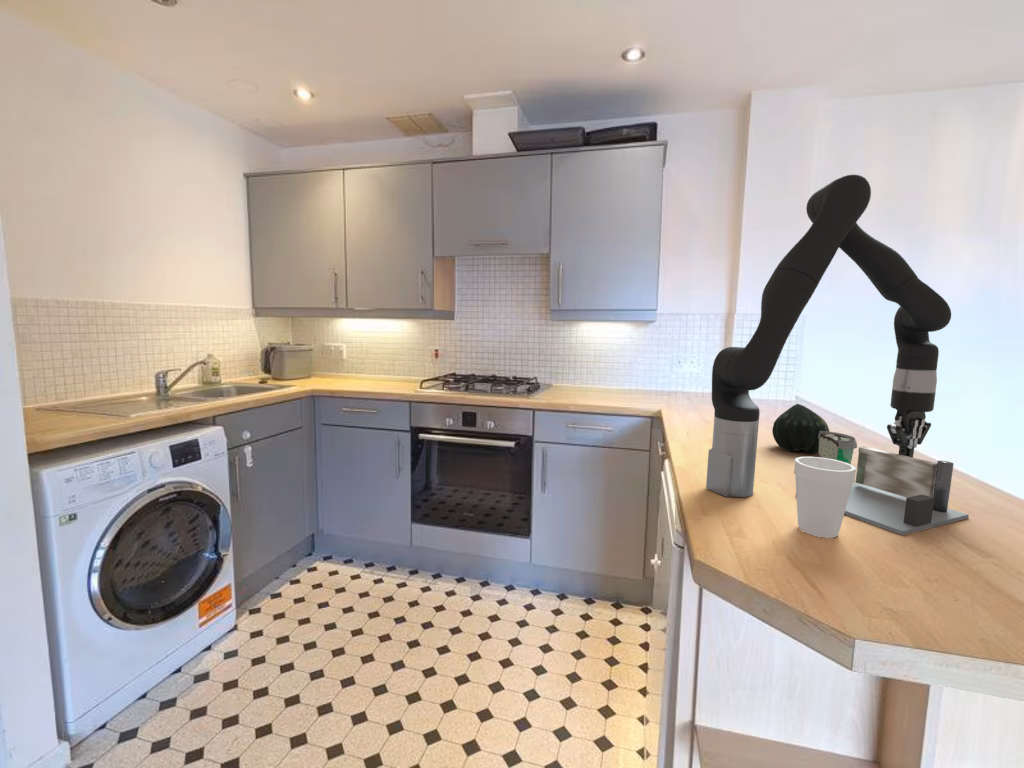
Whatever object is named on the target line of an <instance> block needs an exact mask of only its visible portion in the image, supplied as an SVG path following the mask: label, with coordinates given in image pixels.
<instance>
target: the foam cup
mask: <svg viewBox="0 0 1024 768" xmlns="http://www.w3.org/2000/svg"><path fill="white" fill-rule="evenodd" d="M793 473H794V477H795V497H796V510H797V511H796V512H797V513H796V514H797V526H798V525H799V526H798V527H799V528H800V529H801V530H802V531H804V532H806V533H808V534H807V535H809V534H811V535H810V536H812V535H814V536H813V537H815V536H818V537H817V538H820V537H825V538H824V539H834V538H833V537H836V536H838V537H839V534H840V530H841V527H842V524H843V521H844V520H843V519H844V516H845V514H844V513H845V509H846V506H847V502H848V499H849V495H850V492H851V488H852V484H853V483H856V473H857V468H856V466H855V465H853V464H852V463H851V464H849V463H845V462H842V461H838V460H834V459H828V458H821V457H817V456H799V457H795V459H794V470H793ZM799 528H798V529H799ZM800 529H799V530H800ZM801 530H800V531H801ZM802 531H801V532H802ZM804 532H803V533H804ZM806 533H805V534H806ZM830 537H831V538H830ZM836 538H837V537H836Z"/></svg>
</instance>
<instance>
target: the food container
mask: <svg viewBox="0 0 1024 768" xmlns="http://www.w3.org/2000/svg"><path fill="white" fill-rule="evenodd" d="M818 438H819V452H818V453H817V455H818V457H821V458H828V459H834V460H838V461H842V462H845V463H849V464H851V465H852V458H853V456H854V450H855V449H857V448H858V443H857V442H858V441H857V440H856V437H854V436H852V435H848V434H845V433H840V432H835V431H830V432H828V431H820V432H819V436H818Z"/></svg>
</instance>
